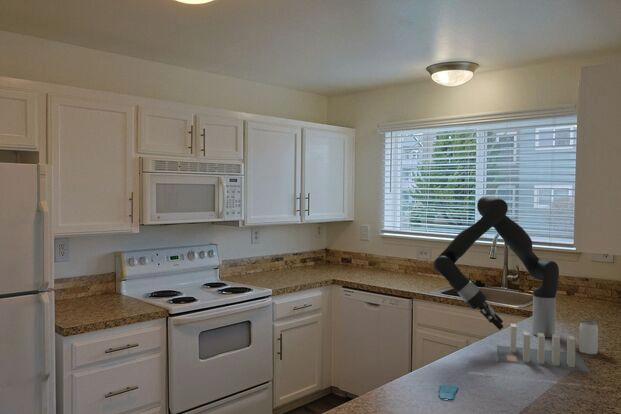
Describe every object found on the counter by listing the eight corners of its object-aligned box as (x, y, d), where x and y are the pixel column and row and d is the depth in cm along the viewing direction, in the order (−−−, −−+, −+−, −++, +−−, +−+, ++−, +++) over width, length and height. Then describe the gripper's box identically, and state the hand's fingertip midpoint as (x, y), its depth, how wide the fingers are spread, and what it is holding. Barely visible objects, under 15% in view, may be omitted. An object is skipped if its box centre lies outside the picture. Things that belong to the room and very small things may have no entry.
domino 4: (551, 360, 192) (552, 334, 192) (557, 361, 192) (558, 334, 191) (553, 364, 187) (554, 337, 187) (559, 365, 187) (560, 338, 187)
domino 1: (510, 348, 207) (510, 323, 207) (515, 348, 206) (516, 324, 206) (510, 351, 202) (511, 326, 202) (516, 352, 202) (516, 327, 201)
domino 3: (537, 359, 194) (537, 332, 194) (542, 359, 193) (543, 333, 193) (538, 363, 189) (538, 336, 189) (544, 363, 188) (544, 336, 188)
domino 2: (522, 357, 195) (523, 331, 195) (528, 358, 195) (529, 331, 194) (523, 361, 191) (524, 334, 190) (529, 362, 190) (530, 335, 190)
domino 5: (566, 362, 191) (567, 335, 190) (572, 362, 190) (573, 335, 190) (568, 366, 186) (569, 338, 186) (574, 367, 185) (575, 339, 185)
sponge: (433, 397, 157) (452, 398, 155) (440, 383, 168) (458, 384, 166) (433, 402, 157) (453, 403, 155) (440, 388, 168) (458, 389, 166)
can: (580, 349, 209) (581, 319, 208) (598, 352, 204) (599, 322, 204) (577, 352, 204) (577, 322, 203) (595, 356, 199) (596, 325, 199)
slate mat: (496, 346, 211) (496, 345, 211) (578, 354, 201) (578, 353, 201) (497, 363, 190) (497, 361, 190) (589, 373, 181) (589, 371, 181)
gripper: (478, 292, 201) (509, 324, 198) (479, 285, 215) (508, 315, 211) (464, 304, 203) (494, 336, 200) (465, 297, 217) (494, 327, 213)
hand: (501, 325), depth 206 cm, fingers open, 8 cm apart
